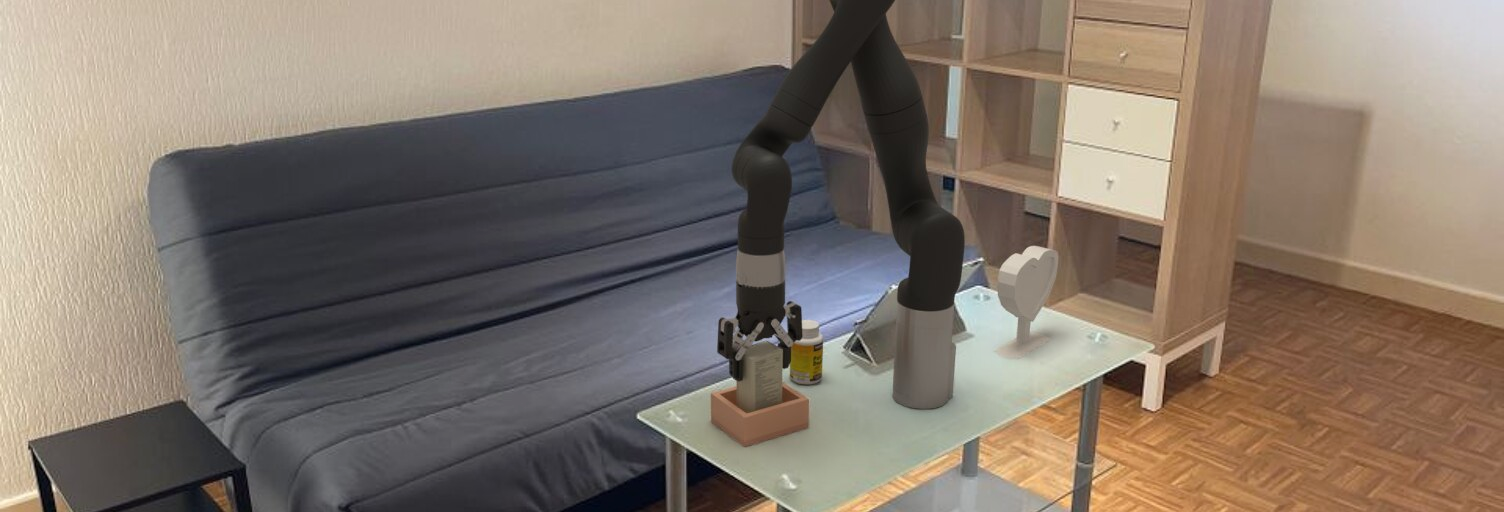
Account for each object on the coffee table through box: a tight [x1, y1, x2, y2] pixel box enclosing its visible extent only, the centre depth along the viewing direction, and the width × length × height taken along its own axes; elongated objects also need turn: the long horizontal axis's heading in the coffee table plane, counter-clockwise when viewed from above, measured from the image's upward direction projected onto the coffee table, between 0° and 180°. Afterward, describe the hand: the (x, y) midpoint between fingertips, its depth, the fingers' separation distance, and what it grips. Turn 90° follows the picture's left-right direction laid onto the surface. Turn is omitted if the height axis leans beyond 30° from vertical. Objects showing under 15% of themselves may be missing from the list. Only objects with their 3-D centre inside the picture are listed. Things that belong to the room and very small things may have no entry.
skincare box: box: [736, 340, 784, 413], centre depth 195 cm, size 6×4×12 cm
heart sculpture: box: [993, 245, 1059, 360], centre depth 224 cm, size 16×5×18 cm, turn 139°
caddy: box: [710, 381, 810, 448], centre depth 196 cm, size 12×10×5 cm
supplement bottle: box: [789, 319, 824, 385], centre depth 211 cm, size 6×6×10 cm
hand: (760, 373), depth 194 cm, fingers open, 8 cm apart
